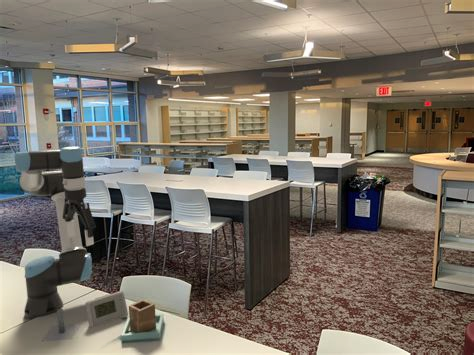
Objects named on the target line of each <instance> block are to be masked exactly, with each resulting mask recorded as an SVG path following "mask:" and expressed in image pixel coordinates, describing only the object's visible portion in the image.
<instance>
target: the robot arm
mask: <svg viewBox="0 0 474 355" xmlns="http://www.w3.org/2000/svg"><path fill="white" fill-rule="evenodd" d="M83 157H84V156H83V152H82V148H81V147H80V146H67V147H66V146H65V147H61V148H60V149H53V150H50V149H49V150H32V151H31V150H30V151H29V150H28V151H26V150H24V151H17V152H15V153H14V163H15V171H16V172H18V173H21V175H20V177H19V185H20V188H21V189H22V191H24V192H25V193H27V194H29V195H32V196H34V197H35V196H36V197H48V196H49V197H50V198H51V200H52V201H53V202H54V203H55V208H56V209H55V210H56V217H57V224H58V225H57V226H58V231H59V238H60V245H61V252H60V253H59V254H58V258H55V257H54V256H52V255H49V256H48V255H46V256H42V257H38V258H36V259H33V260H31V261H29V262H28V263H27V264H26V265H25V267H24V278H25V285H26V296H27V298H26V303H25V306H24V311H23V312H24V317H25V319H26V320H27V319H28V320H33V319H36V318H40V317H41V318H42V317H45V316H46V317H47V316H49V315H52V314H55V313H57V310H58V309H63V308H64V302H63V300H62V298H61V296H60V294H59V291H58V287H60V286H64V285H65V286H66V285H70V284H74V283H78V282H79V283H81V282H82V281H86V280H90V278H91V275H92V269H93V268H92V265H93V264H92V263H93V261H92V260H93V259H92V255H91V253H90V252H88V251H87V248H85V247H84V246H83V243H82V242H83V241H82V237H81V231H80V230H81V229H80V223H79V218H80V220H81V222H82V223H83V226H84V237H85V246H86V247H89V246H93V245H94V244H95V240H94V232H93V229H95V228H97V225H96V222H95V220H94V216H93V214H92V211H91V209H90V203H89V202H88V201H87V202H85V201H84V199H85V198H86V197H87V190H86V179H85V177H86V175H85V171H84V160H83ZM78 216H79V217H78Z"/></svg>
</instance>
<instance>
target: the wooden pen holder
mask: <svg viewBox="0 0 474 355" xmlns="http://www.w3.org/2000/svg"><path fill="white" fill-rule="evenodd" d="M155 315H156V305H155V303H153V302H151V301H149V300H146V299H145V298H144V299H141V300H139V301H137V302H134V303H131V304H129V305H128V316H129V318H130V324H129V330H131V331H133V332H135V333H143V332H150V331H152V330H154V329H156V316H155Z"/></svg>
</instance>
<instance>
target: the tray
mask: <svg viewBox="0 0 474 355" xmlns="http://www.w3.org/2000/svg"><path fill="white" fill-rule="evenodd" d="M155 316H156V329H154V330H152V331H150V332H143V333H135V332H133V331H131V329H129V328H130V318H129V315H128V316H127V319H126V320H125V325H124V327H123V330H122V332H121V334H120V339H121V341H120V342H121V344H125V343H126V344H127V343H140V342H141V343H142V342H154V341H161V336H162V331H163V327H164V322H165V321H164V320H165V318H164V314H163V313H161V314H155Z"/></svg>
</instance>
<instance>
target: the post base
mask: <svg viewBox="0 0 474 355" xmlns="http://www.w3.org/2000/svg"><path fill="white" fill-rule="evenodd" d="M56 314H57V324H55V325H53V324H52V326H51V327H50V328H49V330H48V331H47V333H46V334H45V335H44V336H43V338H42V339H41V342H51V341H64V340H65V341H67V340H73V338H74V337H75V335H76V333H77V331H78V330H79V328H80V327H81V324H82V323H71V324H70V323H69V324H65V321H64V320H65V318H64V310H63V308H61V309H58V310H57V312H56Z"/></svg>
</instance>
